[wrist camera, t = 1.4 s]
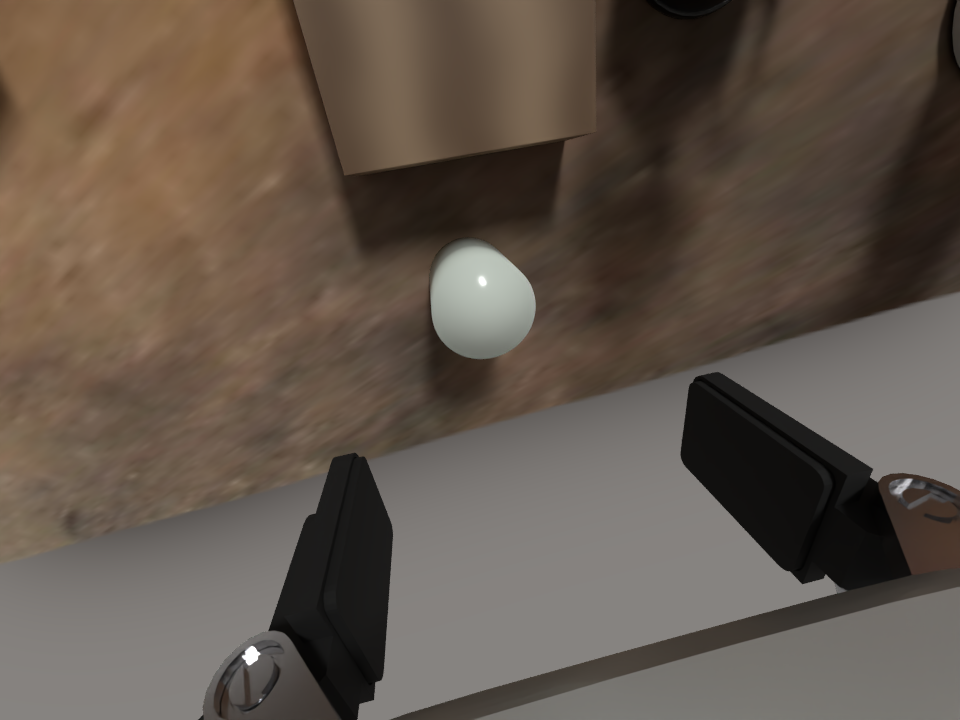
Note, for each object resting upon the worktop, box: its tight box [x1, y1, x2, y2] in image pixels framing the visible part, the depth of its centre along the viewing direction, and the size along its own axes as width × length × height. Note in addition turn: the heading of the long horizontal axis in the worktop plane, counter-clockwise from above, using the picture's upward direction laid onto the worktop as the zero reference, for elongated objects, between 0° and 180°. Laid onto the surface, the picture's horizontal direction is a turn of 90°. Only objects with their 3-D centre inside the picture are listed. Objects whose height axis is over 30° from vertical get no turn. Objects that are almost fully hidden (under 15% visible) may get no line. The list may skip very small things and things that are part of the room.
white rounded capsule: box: [429, 237, 536, 359], centre depth 24 cm, size 6×6×8 cm
